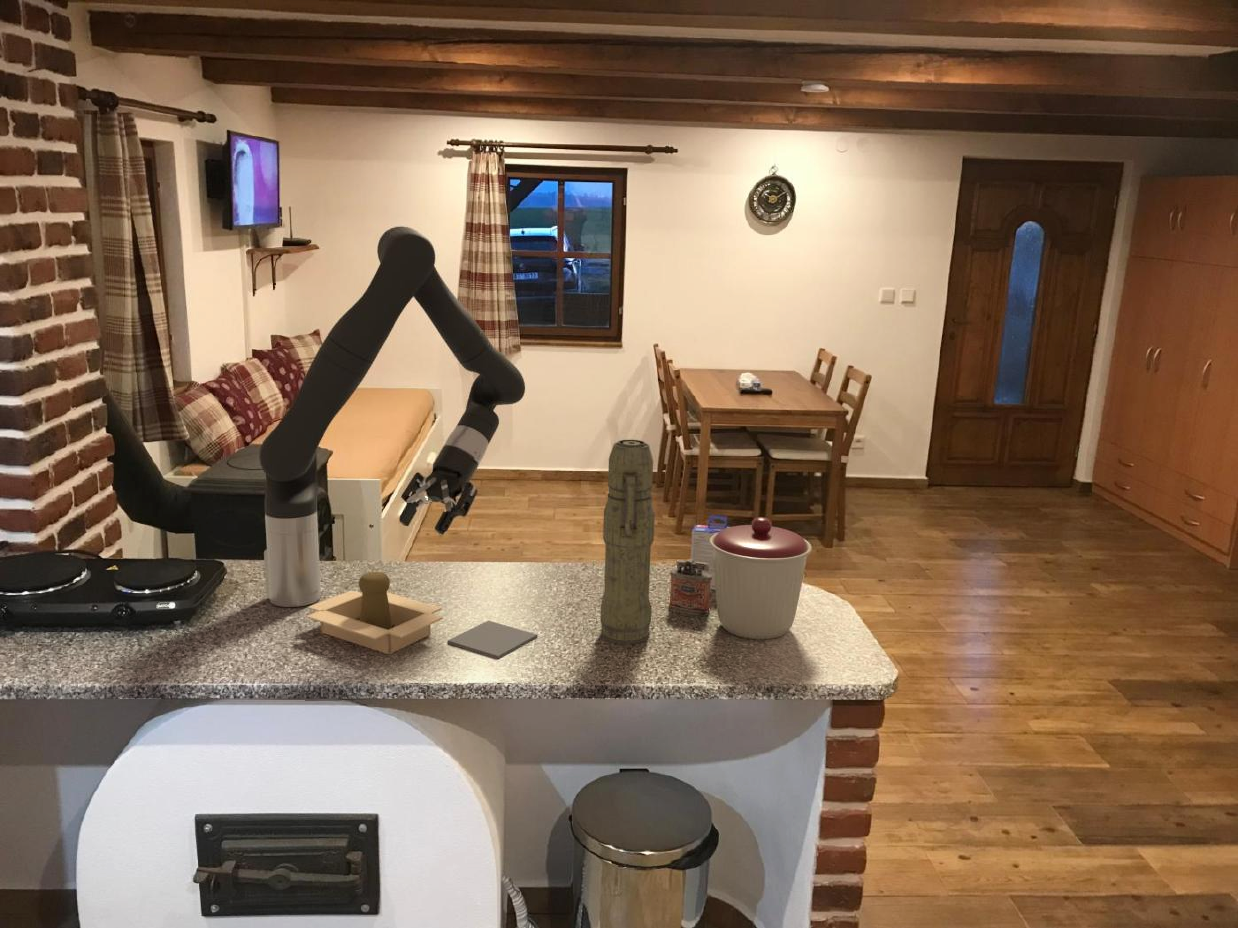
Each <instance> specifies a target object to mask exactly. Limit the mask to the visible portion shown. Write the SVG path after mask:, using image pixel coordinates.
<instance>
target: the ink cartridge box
mask: <svg viewBox="0 0 1238 928" xmlns="http://www.w3.org/2000/svg"><path fill="white" fill-rule="evenodd" d="M714 520H720V521H723V523H720V522H713V521H714ZM727 520H728V516H723V515H713V514H711V515H709V519H708V525H702V524H695V525H694V527H693V529H692V531H691V541H690V542H691V543H690V559H692V560H694V562H703V563H708V564H709V568H708V571H704V570H702V572H703V573H707V574H711V575H712V580H711V582H710V590H712V591H715V574H714V557H713V548H712V546H711V545H710V538H711V537H712V536H713V535H714V534H716V533H718V532H720V531H722V530H724V529H726V528H730V527H731V526H727V525H728V521H727ZM696 571H697V569H696Z"/></svg>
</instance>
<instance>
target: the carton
mask: <svg viewBox="0 0 1238 928" xmlns="http://www.w3.org/2000/svg"><path fill="white" fill-rule="evenodd" d="M387 596H388V602H389V608H390V614H391V620H392V626H393V628H392V629H389V630H387V629H383V628H380V627H377V626H374V625H371V624H367V623H364V622H361V621H360V620H358V619H360V612H361V603H362V592H359V591H356V590H353V589H352V590H348V591H346V592H343V593H340V594H339V595H335V596H333V597H330V598H327V599H325V600H322V601H319V602H317V603H315V604H314V603H313V604H312V605H309V606H308V608H307V609H308V610H311V611H315V612H313V613H311V614H308V615H306V617H305V618H307V619H310V620H312V621H316V622H320V633H322V634H326V635H328V636H331V637H335V638H338V639H340V640H344V641H347V642H349V643H353V644H356V645H359V646H363V647H366V648H368V649H371V650H374V651H377V650H378V652H380V653H383V654H386V655H390V654H393V653H395V652H397V651H399V650H401V649H403V648H405V647H407V646H410V645H411V644H414V643H415V642H417V641H419V640H422V639H425V638H426V637H428V636H431V635H432V633H431V625H433V624H435V623H437V622H439V621H442V620H443V619H444V616H441V615H438V614H436V613H438V612H439V611H442V609H443V608H442V607H440V606H436V605H432V604H430V603H426V602H422V601H419V600H415V599H411V598H408V597H404V596H401V595H397V594H395V593H391V592H388V591H387Z"/></svg>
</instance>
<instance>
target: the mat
mask: <svg viewBox="0 0 1238 928" xmlns="http://www.w3.org/2000/svg"><path fill="white" fill-rule="evenodd" d="M536 638H538V634H537V633H533V632H529V631H527V630H523V629H519V628H517V627H512V626H509V625H506V624H502V623H498V622H495V621H492V620H485V621H484V622H482V623H480V624H478V625H476V626H474V627H472V628H470V629H468V630H466V631H464V632H462V633H460V634H458V635H456V636H454V637H452V638H450V639H448V640H447V644H450V645H453V646H456V647H458V648H459V647H460V648H462V649H465V650H468V651H471V652H472V651H473V652H476V653H479V654H482V655H485V656H489V657H491V658H495V659H498V660H499V659H500V658H503V657H504V656H506V655H508V654H509V653H511V652H513V651H516V649H519V648H520V647H523V646H524V645H526V644H528V643H530V642H531V641H533V640H535V639H536Z"/></svg>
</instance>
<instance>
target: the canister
mask: <svg viewBox="0 0 1238 928" xmlns="http://www.w3.org/2000/svg"><path fill="white" fill-rule="evenodd" d="M729 527H730V528H726V529H724V530H722V531H720V532H718V533H716V534H714V535H713V536H712V537H711V538H710V545H711V546H712V548H713V557H714V574H715V590H714V591H715V601H716V612H717V616H718V620H719V623H720V625H721V626H722V627H723V629H725V631H728V632H729V633H731V634H732V635H735V636H738V637H740V638H745V639H751V640H752V639H753V640H771V639H775V638H779V637H781V636H784V635H785V634H786V633H787V632H789V631H790V629H791V628H792V626H793V623H794V621H795V618H796V614H797V609H798V605H799V600H800V594H801V589H802V584H803V580H804V575H805V574H804V573H805V570H806V564H807V563H806V562H807V558H808V556H809V555H810V554H811V552H812V549H813V548H812V547H813V546H812V544H811V543H810V542H809V541H807V540H806V539H805V538H804V537H803V536H801V535H799V534H798V533H795V532H794V531H791V530H789V529H785V528H781V527H777V526H772V522H771V520H770V519H768V518H767V517H762V516H760V517H756V518H753V520H752V521H751V524H744V525H736V526H735V525H734V526H729Z"/></svg>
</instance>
